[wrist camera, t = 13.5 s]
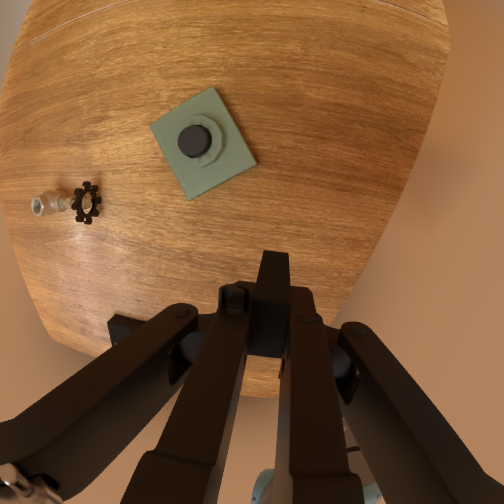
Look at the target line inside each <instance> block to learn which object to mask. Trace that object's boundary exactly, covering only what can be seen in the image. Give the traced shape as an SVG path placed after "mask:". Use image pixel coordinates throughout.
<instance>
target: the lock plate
mask: <svg viewBox="0 0 504 504" xmlns="http://www.w3.org/2000/svg"><path fill="white" fill-rule="evenodd" d="M144 323H146V322H144V321H140V320H136V319H132V318H128V317H124V316H120V315H116V314H115V315H114V316H113V317H112V318H111V319H110V320H109V321H108V322H107V324H108V329H109V334H110V339H111V343H112V347H113V346H114V345H115V344H117V343H118V342H119V341H121V340H122V339H124V338H125V337H126V336H128V335H129V334H131V333H132V332H133V331H135V330H136V329H138V328H139V327H140V326H142V325H143V324H144Z"/></svg>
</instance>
